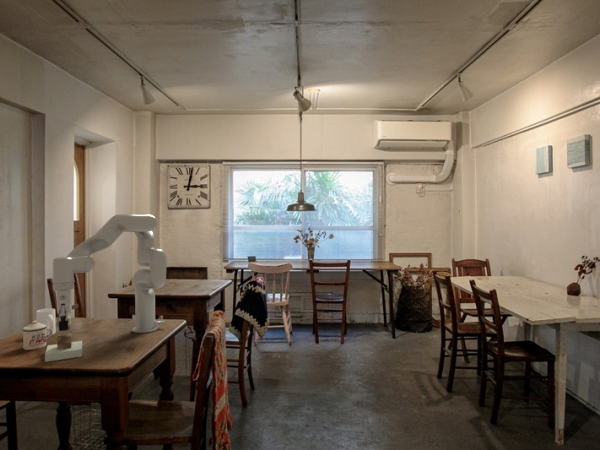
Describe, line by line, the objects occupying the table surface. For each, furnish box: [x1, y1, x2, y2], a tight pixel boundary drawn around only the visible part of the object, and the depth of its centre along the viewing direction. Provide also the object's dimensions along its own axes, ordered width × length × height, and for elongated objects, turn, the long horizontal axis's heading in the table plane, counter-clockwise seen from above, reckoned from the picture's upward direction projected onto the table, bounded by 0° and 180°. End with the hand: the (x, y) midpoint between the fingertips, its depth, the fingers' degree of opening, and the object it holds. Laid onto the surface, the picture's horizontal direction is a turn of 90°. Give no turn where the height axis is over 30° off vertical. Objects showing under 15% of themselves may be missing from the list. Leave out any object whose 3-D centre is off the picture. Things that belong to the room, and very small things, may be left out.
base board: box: [44, 340, 83, 363], centre depth 165 cm, size 13×13×3 cm
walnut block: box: [56, 332, 73, 350], centre depth 165 cm, size 5×5×5 cm
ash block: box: [55, 315, 72, 333], centre depth 164 cm, size 5×5×5 cm
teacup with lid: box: [22, 320, 53, 351], centre depth 176 cm, size 12×9×12 cm
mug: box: [35, 307, 56, 337], centre depth 193 cm, size 8×12×12 cm
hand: (63, 328), depth 164 cm, fingers closed on ash block, 5 cm apart
